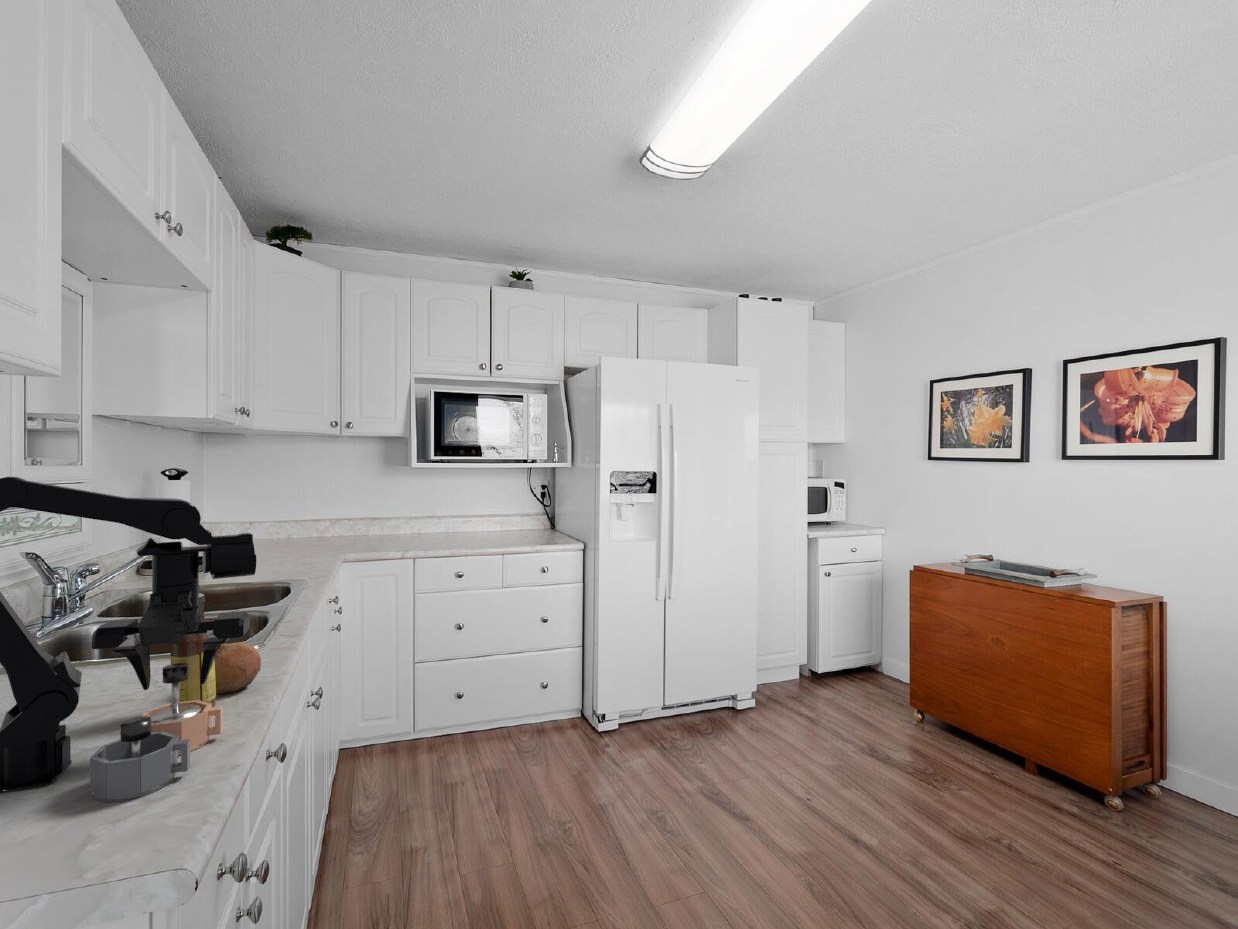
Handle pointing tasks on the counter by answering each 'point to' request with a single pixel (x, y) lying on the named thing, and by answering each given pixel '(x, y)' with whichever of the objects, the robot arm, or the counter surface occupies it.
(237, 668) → the onion
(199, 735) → the bowl
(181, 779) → the counter surface
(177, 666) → the black-handled metal tamper
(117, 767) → the grey octagonal cup
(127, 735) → the coffee tamper
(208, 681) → the sauce bottle
